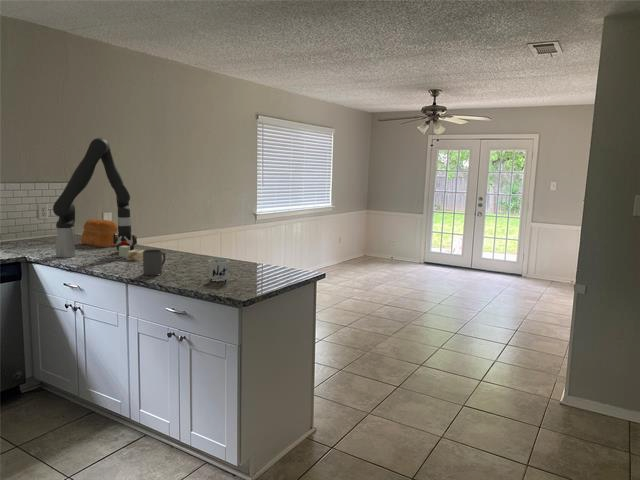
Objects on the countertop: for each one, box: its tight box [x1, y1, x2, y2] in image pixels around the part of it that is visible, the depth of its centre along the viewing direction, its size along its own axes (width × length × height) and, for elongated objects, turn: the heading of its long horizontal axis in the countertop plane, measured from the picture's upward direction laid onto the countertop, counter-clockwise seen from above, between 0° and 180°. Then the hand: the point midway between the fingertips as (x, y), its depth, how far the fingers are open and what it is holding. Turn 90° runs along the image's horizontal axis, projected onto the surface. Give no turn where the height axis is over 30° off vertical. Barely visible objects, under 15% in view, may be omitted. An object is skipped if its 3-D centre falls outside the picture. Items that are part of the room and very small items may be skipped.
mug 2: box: [207, 258, 231, 280], centre depth 244 cm, size 10×15×10 cm
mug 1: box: [142, 249, 166, 276], centre depth 253 cm, size 14×9×12 cm
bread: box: [81, 218, 119, 248], centre depth 333 cm, size 16×26×17 cm, turn 58°
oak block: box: [126, 249, 145, 262], centre depth 289 cm, size 8×8×5 cm
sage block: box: [118, 246, 130, 258], centre depth 296 cm, size 5×5×6 cm
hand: (125, 251), depth 296 cm, fingers open, 8 cm apart
